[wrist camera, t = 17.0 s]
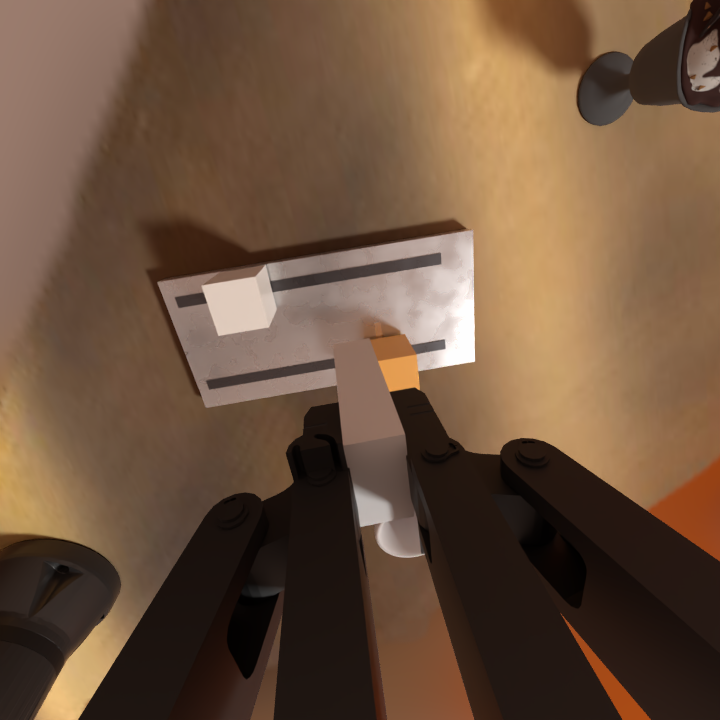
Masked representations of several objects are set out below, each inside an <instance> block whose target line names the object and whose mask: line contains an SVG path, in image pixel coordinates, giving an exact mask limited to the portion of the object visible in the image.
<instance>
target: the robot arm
mask: <svg viewBox="0 0 720 720" xmlns="http://www.w3.org/2000/svg"><path fill="white" fill-rule="evenodd" d="M333 351H334V361H335V371H336V380H337V390H338V400H339V402H337V403H332V404H326V405H321V406H315V407H311V408H310V409H309V411H308V412H307V414H306V415H305V417H304V429H303V435H302V436H300V437H299V438H297V439H295V440H294V441H293V442H292V443H291V444H290V445H289V447H288V449H287V452H286V456H287V459H288V463H289V466H290V469H291V473H292V476H293V480H294V483H293V484H292V485H291V486H290V487H288V488H287V489H286V490H285V491H283V492H281V493H279V494H277V495H275V496H273V497H271V498H268V499H266V500H264V501H261V499H260V498H259V497H258V496H256V495H255V494H251V493H239V494H234V495H232V496H229V497H227V498H225V499H223V500H221V501H220V502H219V503H217V504H216V505H215V506H213V507H212V509H211V510H210V511H209V512H208V513H207V515H206V516H205V517H204V519H203V521H202V522H201V524H200V525H199V527H198V529H197V530H196V532H195V533H194V535H193V537H192V538H191V540H190V541H189V543H188V545H187V546H186V548H185V549H184V551H183V553H182V554H181V556H180V557H179V559H178V561H177V562H176V564H175V565H174V567H173V569H172V570H171V572H170V573H169V575H168V577H167V578H166V580H165V581H164V583H163V585H162V586H161V588H160V589H159V591H158V593H157V594H156V596H155V597H154V599H153V601H152V602H151V604H150V606H149V607H148V609H147V610H146V612H145V614H144V615H143V617H142V618H141V620H140V622H139V623H138V625H137V626H136V628H135V630H134V631H133V633H132V634H131V636H130V638H129V639H128V641H127V642H126V644H125V646H124V647H123V649H122V650H121V652H120V654H119V655H118V657H117V658H116V660H115V662H114V663H113V665H112V666H111V668H110V670H109V671H108V673H107V674H106V676H105V678H104V679H103V681H102V682H101V684H100V686H99V687H98V689H97V690H96V692H95V694H94V695H93V697H92V698H91V700H90V702H89V703H88V705H87V706H86V708H85V710H84V711H83V713H82V714H81V716H80V718H79V719H78V720H250V718H251V715H252V712H253V708H254V705H255V702H256V699H257V695H258V692H259V689H260V685H261V682H262V679H263V675H264V672H265V669H266V666H267V662H268V659H269V656H270V652H271V649H272V646H273V642H274V639H275V636H276V632H277V629H278V626H279V623H280V619H281V616H282V626H281V637H280V649H279V661H278V674H277V685H276V697H275V709H274V720H387V715H386V708H385V700H384V693H383V685H382V678H381V671H380V663H379V656H378V648H377V641H376V633H375V626H374V618H373V611H372V604H371V596H370V589H369V581H368V574H367V566H366V559H365V552H364V544H363V540H362V535H361V529H360V527H362V526H367V525H373V524H378V523H383V522H388V521H393V520H398V519H403V518H408V517H413V516H414V510H415V513H416V516H417V521H418V530H419V539H420V548H421V554H425V556H426V559H427V562H428V566H429V569H430V572H431V576H432V579H433V582H434V586H435V589H436V593H437V596H438V599H439V603H440V606H441V609H442V613H443V616H444V619H445V622H446V626H447V629H448V632H449V636H450V639H451V643H452V646H453V649H454V653H455V656H456V659H457V663H458V666H459V670H460V673H461V676H462V679H463V683H464V686H465V690H466V693H467V696H468V700H469V703H470V706H471V710H472V713H473V716H474V720H622V718H621V716H620V715H619V713H618V711H617V710H616V708H615V706H614V705H613V703H612V701H611V699H610V698H609V696H608V694H607V692H606V691H605V689H604V687H603V686H602V684H601V682H600V681H599V679H598V677H597V676H596V674H595V672H594V670H593V668H592V667H591V665H590V663H589V662H588V660H587V658H586V657H585V655H584V653H583V651H582V650H581V648H580V646H579V645H578V643H577V641H576V640H575V638H574V636H573V634H572V633H571V631H570V629H569V627H568V626H567V624H566V622H565V621H564V619H563V617H562V615H563V616H564V618H565V619H566V620H567V621H568V622H569V623H570V625H571V626H572V627H573V628H574V629H575V631H576V632H577V633H578V634H579V635H580V636H581V638H582V639H583V640H584V641H585V642H586V643H587V644H588V646H589V647H590V648H591V649H592V651H593V652H594V653H595V654H596V655H597V656H598V658H599V659H600V660H601V661H602V662H603V663H604V665H605V666H606V667H607V668H608V669H609V671H610V672H611V673H612V674H613V675H614V676H615V678H616V679H617V680H618V681H619V682H620V683H621V685H622V686H623V687H624V688H625V689H626V690H627V692H628V693H629V694H630V695H631V696H632V698H633V699H634V700H635V701H636V702H637V703H638V705H639V706H640V707H641V708H642V709H643V711H644V712H646V714H647V715H648V716H649V718H650V719H651V720H720V561H718V560H717V559H715V558H714V557H713V556H711V555H710V554H708V553H707V552H705V551H704V550H702V549H701V548H700V547H698V546H697V545H695V544H694V543H692V542H691V541H690V540H688V539H687V538H685V537H684V536H682V535H681V534H679V533H678V532H677V531H675V530H674V529H672V528H671V527H669V526H668V525H667V524H665V523H664V522H662V521H661V520H659V519H658V518H656V517H655V516H653V515H652V514H651V513H649V512H648V511H646V510H645V509H643V508H642V507H641V506H639V505H638V504H636V503H635V502H633V501H632V500H631V499H629V498H628V497H626V496H625V495H623V494H622V493H620V492H619V491H618V490H616V489H615V488H613V487H612V486H610V485H609V484H608V483H606V482H605V481H603V480H602V479H600V478H599V477H597V476H596V475H595V474H593V473H592V472H590V471H589V470H587V469H586V468H585V467H583V466H582V465H580V464H579V463H577V462H576V461H574V460H573V459H572V458H570V457H569V456H567V455H566V454H564V453H563V452H562V451H560V450H559V449H557V448H556V447H554V446H552V445H550V444H548V443H546V442H544V441H540V440H536V439H529V438H520V439H515V440H511V441H509V442H508V443H506V444H505V445H504V446H503V448H502V450H501V451H500V455H492V454H478V453H472V452H468V451H465V449H464V448H463V447H462V446H461V445H460V443H459V442H457V441H455V440H453V439H451V438H449V436H448V435H447V433H446V431H445V429H444V427H443V426H442V424H441V422H440V420H439V418H438V417H437V415H436V413H435V412H434V409H433V408H432V406H431V404H430V402H429V400H428V398H427V397H426V395H425V393H423V392H421V391H420V390H418V389H417V388H415V387H413V388H408V389H402V390H397V391H391V392H389V389H388V387H387V384H386V381H385V379H384V376H383V373H382V371H381V368H380V365H379V363H378V360H377V357H376V355H375V352H374V349H373V346H372V344H371V341H370V338H367V339H361V340H356V341H350V342H344V343H339V344H333ZM120 588H121V582H120V578H119V575H118V573H117V571H116V570H115V568H114V567H113V566H112V565H111V564H110V563H109V562H108V561H107V560H106V559H105V558H103V557H102V556H100V555H99V554H97V553H96V552H94V551H92V550H90V549H87V548H85V547H83V546H80V545H77V544H73V543H69V542H65V541H59V540H47V539H39V540H29V541H23V542H19V543H16V544H13V545H11V546H8V547H6V548H5V549H3V550H2V551H0V720H34V719H35V717H36V715H37V713H38V711H39V709H40V708H41V706H42V704H43V702H44V700H45V699H46V697H47V695H48V693H49V691H50V689H51V688H52V686H53V684H54V682H55V680H56V678H57V677H58V675H59V673H60V671H61V669H62V668H63V666H64V664H65V662H66V661H67V659H68V658H69V657H70V656H71V655H72V654H73V652H74V651H75V650H76V649H77V648H78V647H79V646H80V645H81V643H82V642H83V641H84V640H85V639H86V638H87V636H88V635H89V634H90V633H91V631H92V630H93V628H94V627H95V626H96V625H98V624H99V623H100V622H101V621H102V620H103V619H104V618H105V617H106V616H107V615H108V613H109V612H110V610H111V608H112V606H113V604H114V602H115V601H116V599H117V597H118V595H119V592H120ZM282 613H283V614H282ZM560 613H561V614H562V615H561V614H560Z"/></svg>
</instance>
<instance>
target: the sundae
mask: <svg viewBox="0 0 720 720" xmlns="http://www.w3.org/2000/svg"><path fill="white" fill-rule="evenodd" d="M633 99H634V100H635V101H636V102H637V103H639V104H642V105H658V106H663V105H673V104H682V105H683V106H684V107H686V108H688V109H690V110H693V111H699V112H718V111H720V0H693V1H692V2H691V4H690V10H689V12H688V14H687V16H685V17H684V18H682V19H681V20H679V21H678V22H676V23H675V24H673V25H672V26H670V27H669V28H667V29H666V30H664V31H663V32H661V33H660V34H659V35H657V36H656V37H655V38H654V39H652V40H651V41H650V42H649V43H647V44H646V45H645V46H644V47H643V48H642V49H641V50H640V52H639V53H638V55H637V56H636V57H635V59H634V61H633V60H632V59H631V58H630V57H629V56H628V55H626V54H623V53H620V52H612V53H608V54H605V55H603V56H601V57H600V58H599V59H597V60H596V61H595V62H594V63H593V64H592V65H591V66H590V67H589V69H588V70H587V72H586V73H585V75H584V77H583V79H582V82H581V85H580V89H579V96H578V102H579V108H580V111H581V114H582V116H583V117H584V118H585V119H586V121H588V122H589V123H590V124H593V125H598V126H602V125H607V124H610V123H612V122H614V121H615V120H617V119H618V118H619V117H621V116H622V115H623V114H624V113H625V111H626V110H627V109H628V107H629V106H630V104H631V103H632V101H633Z"/></svg>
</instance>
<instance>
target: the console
mask: <svg viewBox="0 0 720 720" xmlns="http://www.w3.org/2000/svg"><path fill="white" fill-rule="evenodd" d="M262 265H266V269H267V273H268V277H269V281H270V285H271V288H272V292H273V296H274V300H275V304H276V308H277V310H276V312H275V315H274V317H273V319H272V322H271V324H270V326H269V327H268V328H262V329H256V330H251V331H245V332H239V333H233V334H227V335H221V336H218V333H217V330H216V327H215V324H214V322H213V319H212V316H211V313H210V310H209V307H208V304H207V301H206V298H205V295H204V292H203V289H202V285H203V284H204V283H206V282H207V281H208V280H210V279H211V278H213V277H214V276H215V275H217V274H218V273H220V272H226V271H232V270H238V269H244V268H250V267H256V266H262ZM157 283H158V286H159V288H160V291H161V293H162V296H163V298H164V301H165V304H166V306H167V309H168V311H169V314H170V316H171V319H172V322H173V324H174V327H175V329H176V332H177V334H178V337H179V340H180V342H181V345H182V347H183V350H184V352H185V355H186V357H187V360H188V363H189V365H190V368H191V370H192V373H193V375H194V378H195V381H196V383H197V386H198V388H199V391H200V393H201V396H202V399H203V401H204V404H205V406H206V408H208V407H214V406H220V405H225V404H231V403H237V402H243V401H249V400H254V399H260V398H266V397H272V396H277V395H283V394H289V393H295V392H301V391H306V390H312V389H318V388H324V387H329V386H335V385H337V380H336V371H335V361H334V351H333V344H339V343H344V342H350V341H356V340H361V339H367V338H370V340H372V339H378V338H384V337H390V336H395V335H401V334H405V335H406V337H407V339H408V341H409V342H410V344H411V346H412V347H413V349H414V351H415V352H416V354H417V364H418V371H422V370H428V369H433V368H439V367H445V366H451V365H456V364H462V363H468V362H474V361H475V360H474V268H473V230H471V229H462V230H456V231H450V232H444V233H437V234H431V235H425V236H419V237H413V238H407V239H401V240H395V241H389V242H383V243H377V244H371V245H365V246H359V247H353V248H347V249H341V250H335V251H328V252H322V253H316V254H310V255H304V256H298V257H292V258H286V259H280V260H274V261H268V262H262V263H256V264H250V265H244V266H238V267H232V268H226V269H219V270H213V271H207V272H201V273H195V274H189V275H183V276H177V277H171V278H165V279H162V280H161V281H159V282H157Z"/></svg>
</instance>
